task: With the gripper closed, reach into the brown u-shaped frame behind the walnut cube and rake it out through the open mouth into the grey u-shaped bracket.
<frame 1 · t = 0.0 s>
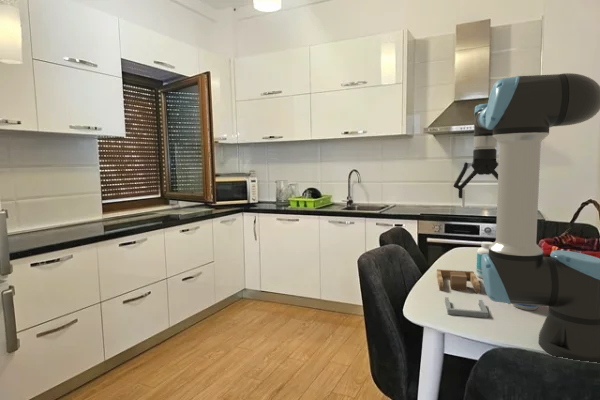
hand: (483, 207, 141), 28 cm above the table, fingers open, 13 cm apart
cube: (457, 287, 139), on the table
brown u-shaped frame: (456, 284, 142), on the table
pill bottle: (486, 277, 150), on the table
grey u-shaped bracket: (465, 309, 119), on the table
beer can: (524, 306, 121), on the table
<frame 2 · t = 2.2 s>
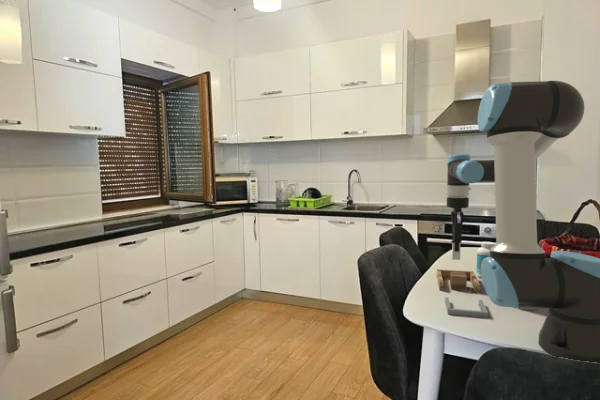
hand: (456, 259, 146), 8 cm above the table, fingers closed
nothing on the table moved.
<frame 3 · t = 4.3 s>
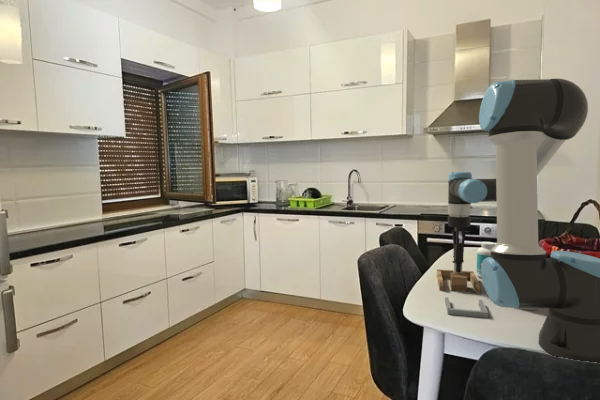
hand: (457, 279, 141), 2 cm above the table, fingers closed
cube: (458, 288, 138), on the table, touching gripper
everything else where it was.
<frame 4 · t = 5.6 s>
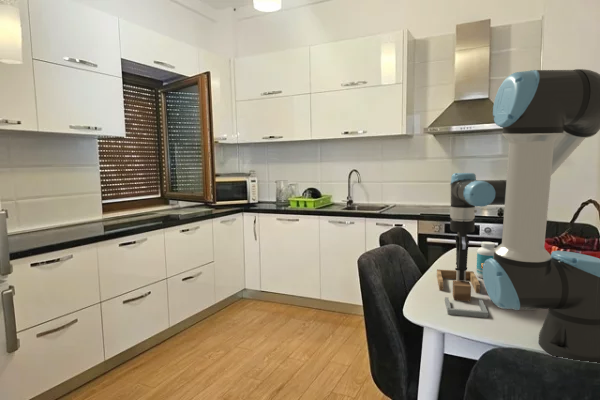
hand: (460, 288, 132), 2 cm above the table, fingers closed
cube: (461, 298, 129), on the table, touching gripper
everything else where it was.
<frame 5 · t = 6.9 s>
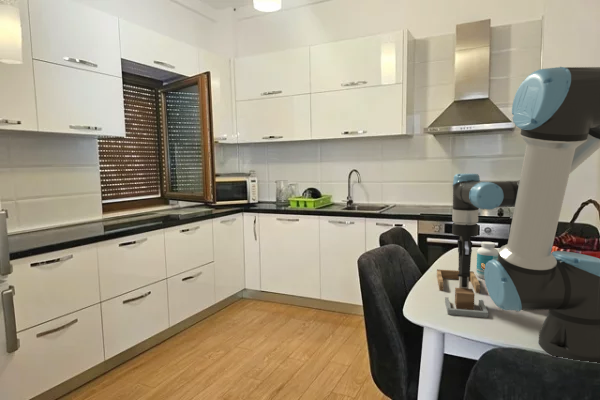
hand: (463, 295, 124), 2 cm above the table, fingers closed
cube: (464, 306, 122), on the table, touching gripper
everything else where it was.
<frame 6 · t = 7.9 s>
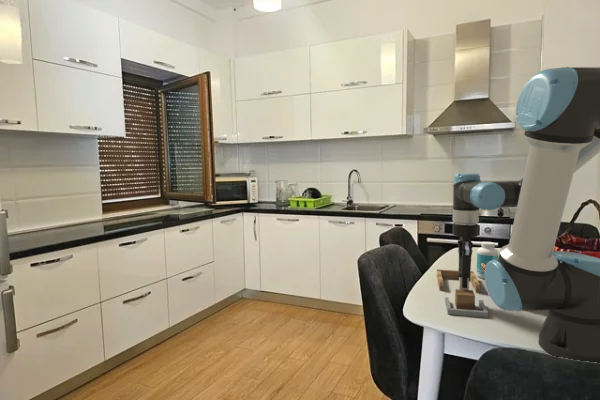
hand: (463, 296, 123), 2 cm above the table, fingers closed
cube: (464, 307, 121), on the table, touching gripper
everything else where it was.
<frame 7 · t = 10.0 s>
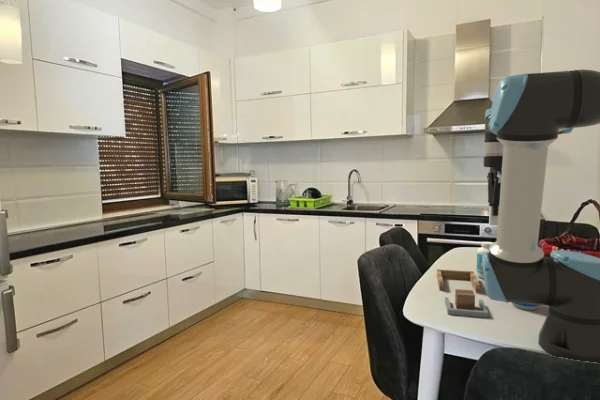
hand: (493, 224, 133), 23 cm above the table, fingers closed
cube: (464, 307, 121), on the table
everything else where it was.
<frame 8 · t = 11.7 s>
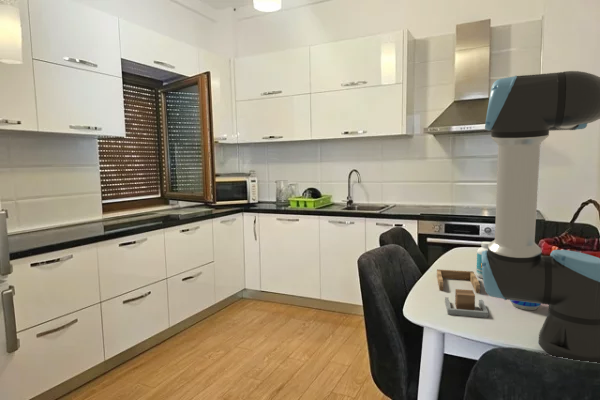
hand: (511, 219, 135), 24 cm above the table, fingers closed
nothing on the table moved.
at the end: cube inside the target area on the grey u-shaped bracket (0.8 cm from its centre), point 0.0 cm above the grey u-shaped bracket's base; cube touching table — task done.
